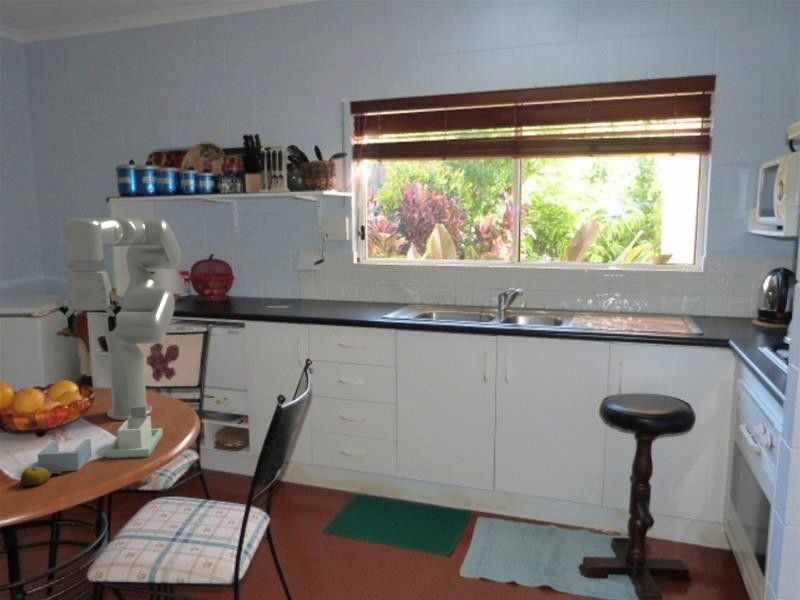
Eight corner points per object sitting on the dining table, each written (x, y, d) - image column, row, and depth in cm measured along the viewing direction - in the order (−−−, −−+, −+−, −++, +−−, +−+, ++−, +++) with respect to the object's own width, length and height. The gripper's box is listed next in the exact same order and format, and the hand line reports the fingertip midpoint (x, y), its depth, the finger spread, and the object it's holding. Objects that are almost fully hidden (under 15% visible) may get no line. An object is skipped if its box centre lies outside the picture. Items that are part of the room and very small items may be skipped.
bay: (54, 457, 154) (52, 440, 154) (91, 455, 156) (90, 439, 155) (39, 472, 146) (37, 454, 145) (79, 470, 147) (77, 452, 146)
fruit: (64, 472, 147) (62, 458, 146) (49, 488, 139) (47, 473, 138) (27, 474, 146) (26, 459, 145) (10, 490, 137) (8, 475, 137)
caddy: (130, 437, 166) (128, 406, 165) (151, 436, 167) (149, 405, 166) (119, 452, 156) (116, 419, 155) (141, 451, 157) (139, 418, 156)
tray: (124, 436, 168) (124, 429, 168) (162, 435, 170) (162, 428, 169) (106, 458, 154) (106, 451, 154) (148, 456, 155) (148, 449, 155)
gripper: (46, 268, 154) (52, 334, 157) (118, 268, 157) (122, 333, 159) (58, 265, 161) (64, 328, 164) (127, 265, 164) (131, 327, 167)
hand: (93, 330), depth 162 cm, fingers open, 9 cm apart
